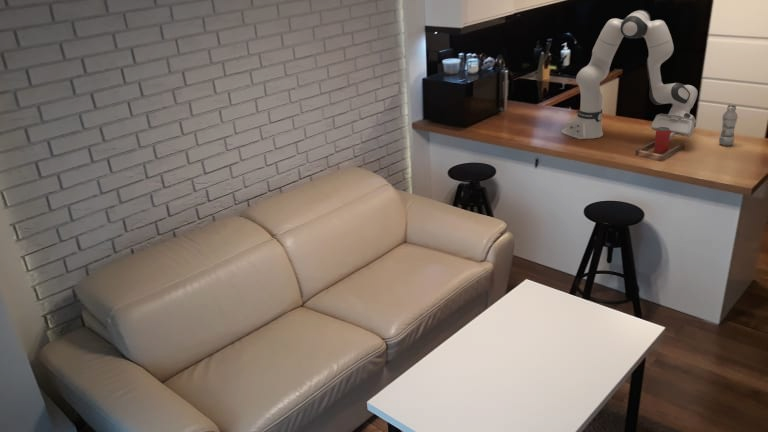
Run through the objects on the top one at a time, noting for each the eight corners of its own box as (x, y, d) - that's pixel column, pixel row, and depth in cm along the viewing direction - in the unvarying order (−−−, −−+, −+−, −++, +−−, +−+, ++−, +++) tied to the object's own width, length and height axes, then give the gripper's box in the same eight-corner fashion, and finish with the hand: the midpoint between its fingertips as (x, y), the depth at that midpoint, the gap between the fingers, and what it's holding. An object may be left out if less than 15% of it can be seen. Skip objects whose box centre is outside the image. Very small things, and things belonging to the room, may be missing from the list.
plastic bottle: (734, 147, 302) (740, 108, 293) (718, 146, 304) (724, 108, 296) (732, 142, 307) (738, 104, 299) (717, 142, 310) (723, 104, 301)
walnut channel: (635, 155, 305) (635, 150, 304) (657, 143, 317) (658, 138, 315) (662, 161, 295) (662, 156, 294) (684, 148, 307) (684, 143, 305)
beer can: (669, 153, 302) (672, 130, 297) (655, 153, 304) (657, 131, 299) (666, 149, 308) (669, 126, 303) (652, 149, 310) (655, 126, 304)
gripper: (655, 109, 312) (644, 133, 311) (696, 116, 298) (684, 141, 297) (659, 115, 317) (648, 139, 316) (699, 122, 302) (687, 147, 301)
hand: (665, 140), depth 306 cm, fingers closed, pressing on beer can
